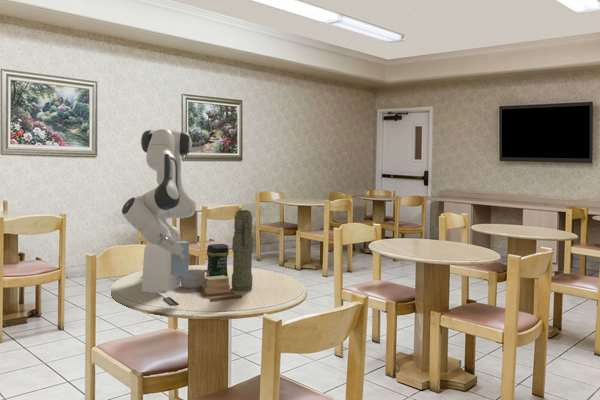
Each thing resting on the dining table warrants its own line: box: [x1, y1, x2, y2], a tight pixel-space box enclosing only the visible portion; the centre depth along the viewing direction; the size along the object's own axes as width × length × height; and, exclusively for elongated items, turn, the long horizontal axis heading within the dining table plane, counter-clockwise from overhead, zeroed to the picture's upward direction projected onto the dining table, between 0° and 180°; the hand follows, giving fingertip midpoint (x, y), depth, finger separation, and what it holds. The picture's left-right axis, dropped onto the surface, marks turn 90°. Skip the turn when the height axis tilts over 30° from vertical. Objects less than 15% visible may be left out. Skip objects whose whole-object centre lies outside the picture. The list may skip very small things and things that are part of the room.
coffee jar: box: [206, 243, 230, 278], centre depth 238 cm, size 10×8×19 cm
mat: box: [162, 296, 180, 306], centre depth 209 cm, size 10×10×1 cm
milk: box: [141, 230, 181, 295], centre depth 225 cm, size 12×12×26 cm
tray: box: [195, 287, 243, 302], centre depth 216 cm, size 18×13×2 cm
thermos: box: [231, 209, 254, 292], centre depth 226 cm, size 9×12×35 cm
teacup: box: [180, 268, 209, 290], centre depth 230 cm, size 14×11×8 cm
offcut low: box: [202, 284, 231, 294], centre depth 220 cm, size 5×10×3 cm, turn 121°
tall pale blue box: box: [171, 240, 190, 276], centre depth 207 cm, size 4×6×13 cm, turn 121°
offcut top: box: [204, 276, 230, 287], centre depth 220 cm, size 5×9×3 cm, turn 121°
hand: (181, 256), depth 208 cm, fingers closed on tall pale blue box, 3 cm apart
